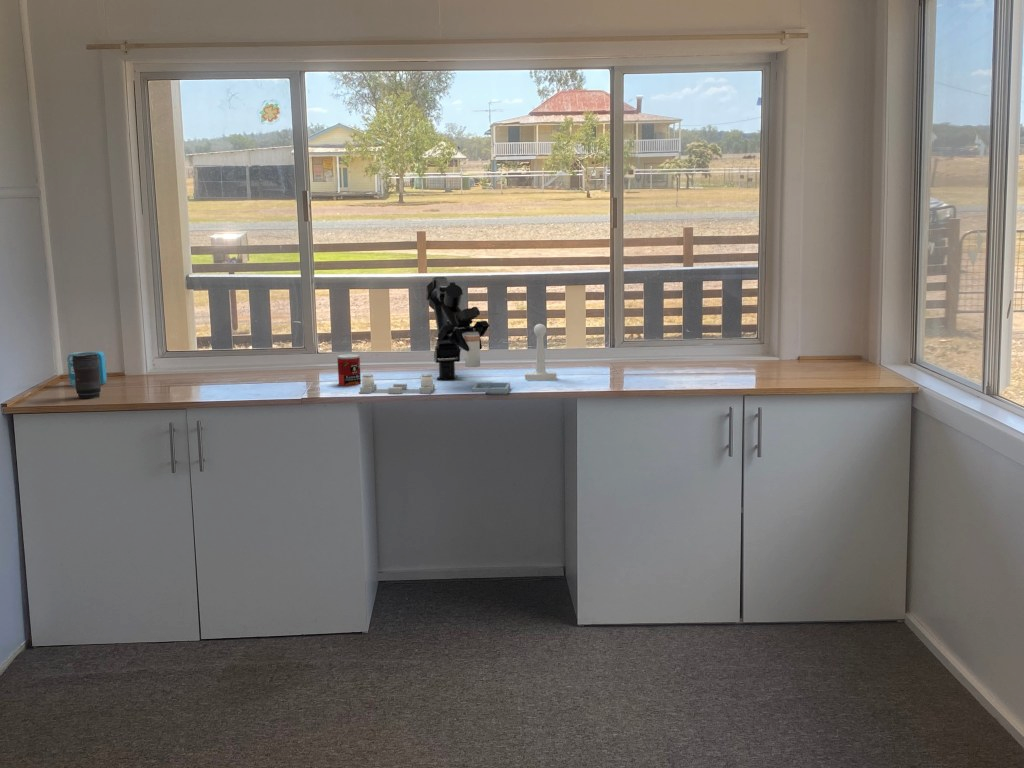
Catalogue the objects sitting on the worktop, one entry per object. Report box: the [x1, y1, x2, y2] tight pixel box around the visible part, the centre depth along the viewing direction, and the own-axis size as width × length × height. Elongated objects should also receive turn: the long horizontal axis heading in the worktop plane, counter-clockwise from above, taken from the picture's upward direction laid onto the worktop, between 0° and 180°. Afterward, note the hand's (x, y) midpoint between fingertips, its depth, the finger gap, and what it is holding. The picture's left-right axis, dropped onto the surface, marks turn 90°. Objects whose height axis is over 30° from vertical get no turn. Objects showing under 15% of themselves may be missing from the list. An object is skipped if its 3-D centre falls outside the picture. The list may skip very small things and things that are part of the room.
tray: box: [471, 382, 511, 396], centre depth 340 cm, size 12×12×2 cm
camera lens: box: [72, 351, 102, 399], centre depth 344 cm, size 8×8×15 cm
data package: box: [66, 350, 108, 387], centre depth 370 cm, size 12×4×12 cm, turn 98°
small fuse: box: [420, 373, 434, 393], centre depth 337 cm, size 4×4×6 cm
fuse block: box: [358, 383, 438, 395], centre depth 339 cm, size 9×25×3 cm, turn 83°
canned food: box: [337, 353, 362, 387], centre depth 354 cm, size 8×8×11 cm
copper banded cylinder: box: [463, 331, 481, 368], centre depth 345 cm, size 5×5×12 cm
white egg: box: [361, 373, 375, 392], centre depth 340 cm, size 4×4×6 cm
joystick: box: [524, 323, 557, 381], centre depth 362 cm, size 11×8×20 cm
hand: (474, 349), depth 344 cm, fingers closed on copper banded cylinder, 5 cm apart
